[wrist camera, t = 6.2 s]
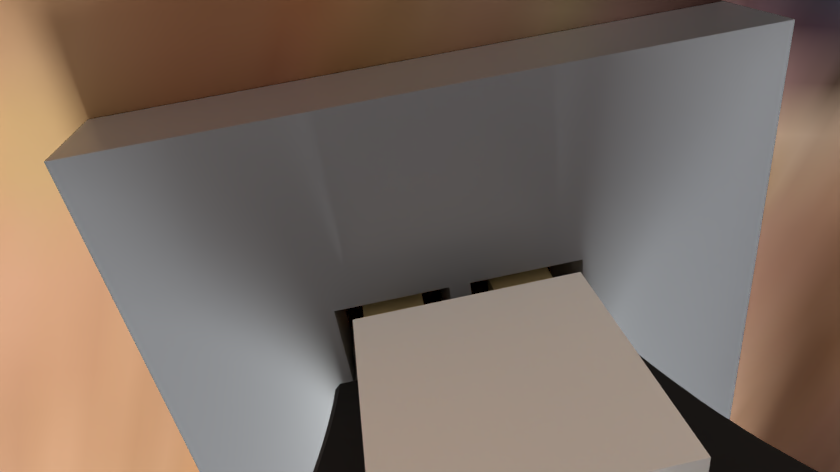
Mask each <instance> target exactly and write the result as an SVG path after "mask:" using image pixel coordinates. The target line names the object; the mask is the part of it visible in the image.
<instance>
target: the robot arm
mask: <svg viewBox="0 0 840 472" xmlns="http://www.w3.org/2000/svg"><path fill="white" fill-rule="evenodd" d="M639 356H640V355H639ZM640 357H641V356H640ZM641 359H642V360H643V362H644V363H645V364H646V366H647V367H648V369H649V370H650V371H651V373H652V374H653V376H654V377H655V379H656V380H657V381H658V383H659V384H660V386H661V387H662V389H663V390H664V391H665V393H666V394H667V396H668V397H669V398H670V400H671V401H672V403H673V404H674V406H675V407H676V408H677V410H678V411H679V413H680V414H681V416H682V417H683V418H684V420H685V421H686V423H687V424H688V425H689V427H690V428H691V430H692V431H693V433H694V434H695V435H696V437H697V438H698V440H699V441H700V443H701V444H702V445H703V447H704V448H705V450H706V451H707V452H708V454H709V455H710V457H711V460H710V467H709V472H818V471H816V470H814V469H812V468H810V467H808V466H806V465H804V464H803V463H801V462H799V461H797V460H796V459H794V458H792V457H790V456H788V455H787V454H785V453H783V452H781V451H780V450H778V449H776V448H774V447H772V446H771V445H769V444H767V443H765V442H764V441H762V440H760V439H759V438H757V437H755V436H754V435H752V434H751V433H749V432H747V431H746V430H744V429H743V428H741V427H740V426H738V425H736V424H735V423H733V422H732V421H730V420H729V419H727V418H726V417H724V416H723V415H721V414H720V413H718V412H717V411H715V410H714V409H712V408H711V407H709V406H708V405H706V404H705V403H703V402H702V401H701V400H699V399H698V398H696V397H695V396H694V395H692V394H691V393H689V392H688V391H687V390H685V389H684V388H683V387H681V386H680V385H678V384H677V383H676V382H674V381H673V380H671V379H670V378H669V377H667V376H666V375H665V374H663V373H662V372H661V371H660V370H658V369H657V368H656V367H654V366H653V365H652V364H650V363H649V362H648V361H647V360H645V359H644V358H643V357H641ZM313 472H365V461H364V449H363V437H362V425H361V413H360V401H359V389H358V380H356V381H351V382H346V383H342V384H339V386H338V387H337V388H336V389H335V395H334V401H333V405H332V410H331V414H330V418H329V422H328V426H327V429H326V433H325V436H324V440H323V443H322V447H321V450H320V453H319V456H318V459H317V462H316V465H315V468H314V471H313Z"/></svg>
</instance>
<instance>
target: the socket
mask: <svg viewBox="0 0 840 472" xmlns="http://www.w3.org/2000/svg"><path fill="white" fill-rule="evenodd" d="M794 22H795V19H792V18H788V17H784V16H780V15H776V14H772V13H768V12H764V11H760V10H756V9H752V8H749V7H745V6H741V5H737V4H733V3H729V2H725V1H721V2H715V3H710V4H705V5H699V6H694V7H689V8H683V9H678V10H672V11H667V12H662V13H656V14H651V15H646V16H640V17H635V18H630V19H624V20H619V21H613V22H608V23H603V24H597V25H592V26H587V27H581V28H576V29H571V30H565V31H560V32H555V33H549V34H544V35H538V36H533V37H528V38H522V39H517V40H512V41H506V42H501V43H496V44H490V45H485V46H479V47H474V48H469V49H463V50H458V51H453V52H447V53H442V54H437V55H431V56H426V57H420V58H415V59H410V60H404V61H399V62H394V63H388V64H383V65H378V66H372V67H367V68H362V69H356V70H351V71H345V72H340V73H335V74H329V75H324V76H319V77H313V78H308V79H303V80H297V81H292V82H286V83H281V84H276V85H270V86H265V87H260V88H254V89H249V90H244V91H238V92H233V93H228V94H222V95H217V96H211V97H206V98H201V99H195V100H190V101H185V102H179V103H174V104H169V105H163V106H158V107H152V108H147V109H142V110H136V111H131V112H126V113H120V114H115V115H110V116H104V117H99V118H94V119H88V120H87V121H86V122H85V123H84V124H83V125H82V126H81V127H79V128H78V129H77V130H76V131H75V132H74V133H73V134H72V135H71V136H70V137H69V138H68V139H67V140H66V141H65V142H64V143H63V144H62V145H61V146H60V147H59V148H58V149H57V150H56V151H55V152H54V153H53V154H52V155H50V156H49V157H48V158H47V159H46V160H45V161H44V163H45V165H46V167H47V169H48V171H49V173H50V175H51V177H52V179H53V181H54V183H55V185H56V187H57V189H58V191H59V193H60V194H61V196H62V198H63V200H64V202H65V204H66V206H67V208H68V210H69V212H70V214H71V216H72V218H73V220H74V222H75V224H76V226H77V228H78V230H79V232H80V234H81V236H82V238H83V240H84V242H85V244H86V246H87V248H88V250H89V252H90V254H91V256H92V258H93V260H94V262H95V264H96V266H97V268H98V270H99V272H100V274H101V276H102V278H103V280H104V282H105V284H106V286H107V288H108V290H109V292H110V294H111V296H112V298H113V300H114V302H115V304H116V306H117V308H118V310H119V312H120V314H121V316H122V318H123V320H124V322H125V324H126V326H127V328H128V330H129V332H130V334H131V336H132V338H133V340H134V342H135V344H136V346H137V348H138V350H139V352H140V354H141V356H142V358H143V360H144V362H145V364H146V366H147V368H148V370H149V372H150V374H151V376H152V378H153V380H154V382H155V384H156V386H157V388H158V390H159V392H160V394H161V396H162V398H163V400H164V402H165V404H166V405H167V407H168V409H169V411H170V413H171V415H172V417H173V419H174V421H175V423H176V425H177V427H178V429H179V431H180V433H181V435H182V437H183V439H184V441H185V443H186V445H187V447H188V449H189V451H190V453H191V455H192V457H193V459H194V461H195V463H196V465H197V467H198V469H199V471H200V472H313V471H314V468H315V465H316V462H317V459H318V456H319V453H320V450H321V447H322V443H323V440H324V436H325V433H326V429H327V426H328V422H329V418H330V414H331V410H332V405H333V401H334V395H335V389H336V388H337V387H338V386H339V384H342V383H346V382H351V381H356V380H358V378H357V366H356V354H355V342H354V330H353V328H350V324H349V320H348V316H347V313H346V309H347V308H352V307H357V306H362V305H367V304H371V303H376V302H381V301H386V300H391V299H395V298H400V297H405V296H410V295H415V294H419V293H424V292H429V291H434V290H439V289H440V290H441V296H442V301H444V300H449V299H454V298H458V297H463V296H468V295H472V294H471V286H470V283H472V282H477V281H482V280H487V279H491V278H496V277H501V276H506V275H511V274H515V273H520V272H525V271H530V270H534V269H539V268H544V267H549V266H550V270H551V275H552V277H553V278H554V277H559V276H563V275H568V274H573V273H578V272H581V273H582V275H583V276H584V278H585V279H586V280H587V282H588V283H589V285H590V286H591V288H592V289H593V290H594V292H595V293H596V295H597V296H598V298H599V299H600V300H601V302H602V303H603V305H604V306H605V308H606V309H607V310H608V312H609V313H610V315H611V316H612V317H613V319H614V320H615V322H616V323H617V325H618V326H619V327H620V329H621V330H622V332H623V333H624V335H625V336H626V337H627V339H628V340H629V342H630V343H631V344H632V346H633V347H634V349H635V350H636V352H637V353H638V354H639V355H640V356H641V357H643V358H644V359H645V360H647V361H648V362H649V363H650V364H652V365H653V366H654V367H656V368H657V369H658V370H660V371H661V372H662V373H663V374H665V375H666V376H667V377H669V378H670V379H671V380H673V381H674V382H676V383H677V384H678V385H680V386H681V387H683V388H684V389H685V390H687V391H688V392H689V393H691V394H692V395H694V396H695V397H696V398H698V399H699V400H701V401H702V402H703V403H705V404H706V405H708V406H709V407H711V408H712V409H714V410H715V411H717V412H718V413H720V414H721V415H723V416H724V417H726V418H727V419H729V420H730V414H731V408H732V402H733V396H734V390H735V384H736V378H737V371H738V365H739V359H740V353H741V347H742V341H743V335H744V329H745V322H746V316H747V310H748V304H749V298H750V292H751V286H752V280H753V273H754V267H755V261H756V255H757V249H758V243H759V237H760V231H761V224H762V218H763V212H764V206H765V200H766V194H767V188H768V182H769V175H770V169H771V163H772V157H773V151H774V145H775V139H776V132H777V126H778V120H779V114H780V108H781V102H782V96H783V90H784V83H785V77H786V71H787V65H788V59H789V53H790V47H791V41H792V34H793V28H794Z"/></svg>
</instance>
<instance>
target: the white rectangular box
mask: <svg viewBox="0 0 840 472" xmlns="http://www.w3.org/2000/svg"><path fill="white" fill-rule="evenodd" d="M487 281H488V290H489V291H487V292H482V293H478V294H473V295H468V296H463V297H458V298H454V299H449V300H444V301H439V302H435V303H430V304H425V305H424V301H423V298H422V294H421V293H419V294H415V295H410V296H405V297H400V298H395V299H391V300H386V301H381V302H376V303H371V304H367V305H363V314H364V317H363V318H358V319H354V320H353V330H354V342H355V354H356V366H357V378H358V389H359V401H360V413H361V425H362V437H363V449H364V461H365V472H709V467H710V460H711V457H710V455H709V454H708V452H707V451H706V450H705V448H704V447H703V445H702V444H701V443H700V441H699V440H698V438H697V437H696V435H695V434H694V433H693V431H692V430H691V428H690V427H689V425H688V424H687V423H686V421H685V420H684V418H683V417H682V416H681V414H680V413H679V411H678V410H677V408H676V407H675V406H674V404H673V403H672V401H671V400H670V398H669V397H668V396H667V394H666V393H665V391H664V390H663V389H662V387H661V386H660V384H659V383H658V381H657V380H656V379H655V377H654V376H653V374H652V373H651V371H650V370H649V369H648V367H647V366H646V364H645V363H644V362H643V360H642V359H641V357H640V356H639V354H638V353H637V352H636V350H635V349H634V347H633V346H632V344H631V343H630V342H629V340H628V339H627V337H626V336H625V335H624V333H623V332H622V330H621V329H620V327H619V326H618V325H617V323H616V322H615V320H614V319H613V317H612V316H611V315H610V313H609V312H608V310H607V309H606V308H605V306H604V305H603V303H602V302H601V300H600V299H599V298H598V296H597V295H596V293H595V292H594V290H593V289H592V288H591V286H590V285H589V283H588V282H587V280H586V279H585V278H584V276H583V275H582V273H581V272H578V273H573V274H568V275H563V276H559V277H554V278H553V277H552V275H551V274H550V272H549V270H548V269H547V267H544V268H539V269H534V270H530V271H525V272H520V273H515V274H511V275H506V276H501V277H496V278H491V279H487Z"/></svg>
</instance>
